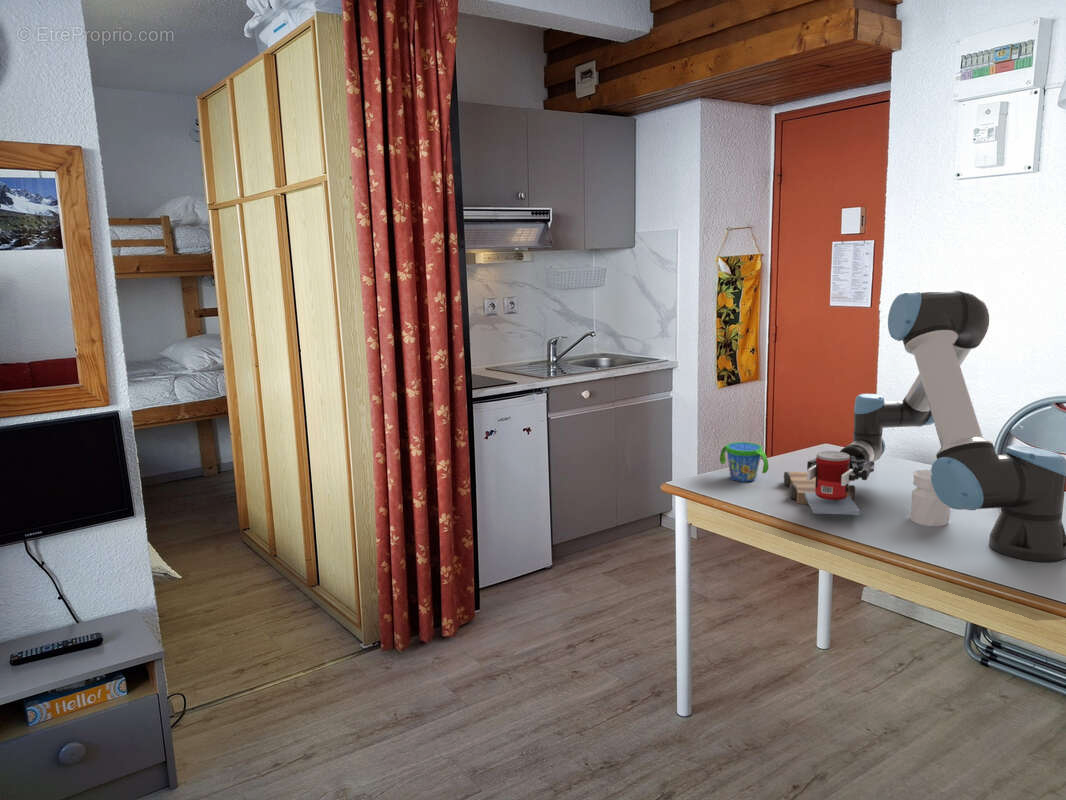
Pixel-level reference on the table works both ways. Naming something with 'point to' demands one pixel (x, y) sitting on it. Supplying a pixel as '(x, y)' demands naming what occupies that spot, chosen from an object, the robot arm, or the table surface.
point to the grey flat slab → (831, 505)
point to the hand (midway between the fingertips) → (825, 477)
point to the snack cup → (744, 460)
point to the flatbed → (805, 486)
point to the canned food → (831, 474)
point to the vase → (927, 502)
